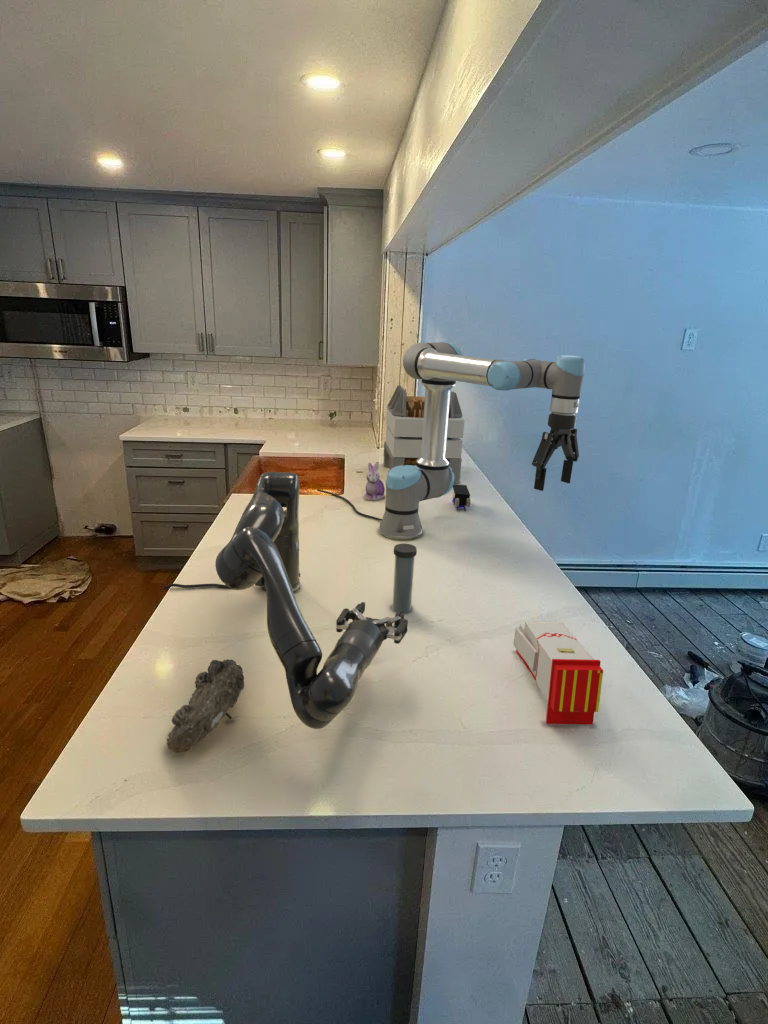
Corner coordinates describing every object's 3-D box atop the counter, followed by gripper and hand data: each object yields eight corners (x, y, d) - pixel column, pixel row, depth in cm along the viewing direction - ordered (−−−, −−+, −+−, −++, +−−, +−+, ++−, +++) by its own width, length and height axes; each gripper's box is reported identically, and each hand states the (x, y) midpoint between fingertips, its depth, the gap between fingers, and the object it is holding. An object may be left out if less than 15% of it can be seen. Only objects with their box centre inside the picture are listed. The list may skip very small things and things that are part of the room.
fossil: (192, 660, 117) (244, 628, 112) (224, 691, 120) (276, 661, 115) (142, 746, 98) (202, 712, 93) (182, 779, 101) (242, 748, 96)
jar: (389, 605, 151) (392, 547, 146) (405, 602, 153) (409, 544, 148) (397, 614, 147) (400, 554, 141) (414, 611, 149) (418, 551, 143)
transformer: (382, 463, 289) (386, 382, 275) (445, 464, 293) (451, 384, 279) (390, 482, 257) (394, 392, 243) (460, 483, 261) (468, 394, 247)
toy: (559, 606, 135) (612, 666, 105) (553, 658, 137) (604, 731, 108) (508, 605, 134) (547, 665, 105) (504, 658, 137) (541, 730, 108)
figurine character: (470, 515, 225) (465, 499, 238) (472, 498, 221) (467, 483, 235) (453, 515, 224) (449, 499, 238) (455, 497, 221) (451, 482, 234)
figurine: (369, 502, 230) (370, 466, 225) (359, 494, 239) (360, 460, 234) (390, 499, 234) (391, 464, 229) (378, 492, 243) (380, 458, 238)
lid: (389, 550, 146) (389, 545, 146) (409, 547, 149) (410, 542, 148) (399, 559, 141) (400, 553, 141) (420, 556, 144) (420, 550, 143)
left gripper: (323, 657, 113) (351, 618, 127) (391, 671, 109) (412, 630, 123) (323, 623, 110) (351, 588, 125) (393, 637, 106) (414, 599, 121)
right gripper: (548, 419, 148) (537, 496, 155) (598, 411, 163) (586, 482, 171) (525, 414, 153) (515, 489, 160) (575, 407, 169) (564, 476, 176)
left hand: (382, 609), depth 124 cm, fingers open, 8 cm apart
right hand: (552, 485), depth 166 cm, fingers open, 13 cm apart
